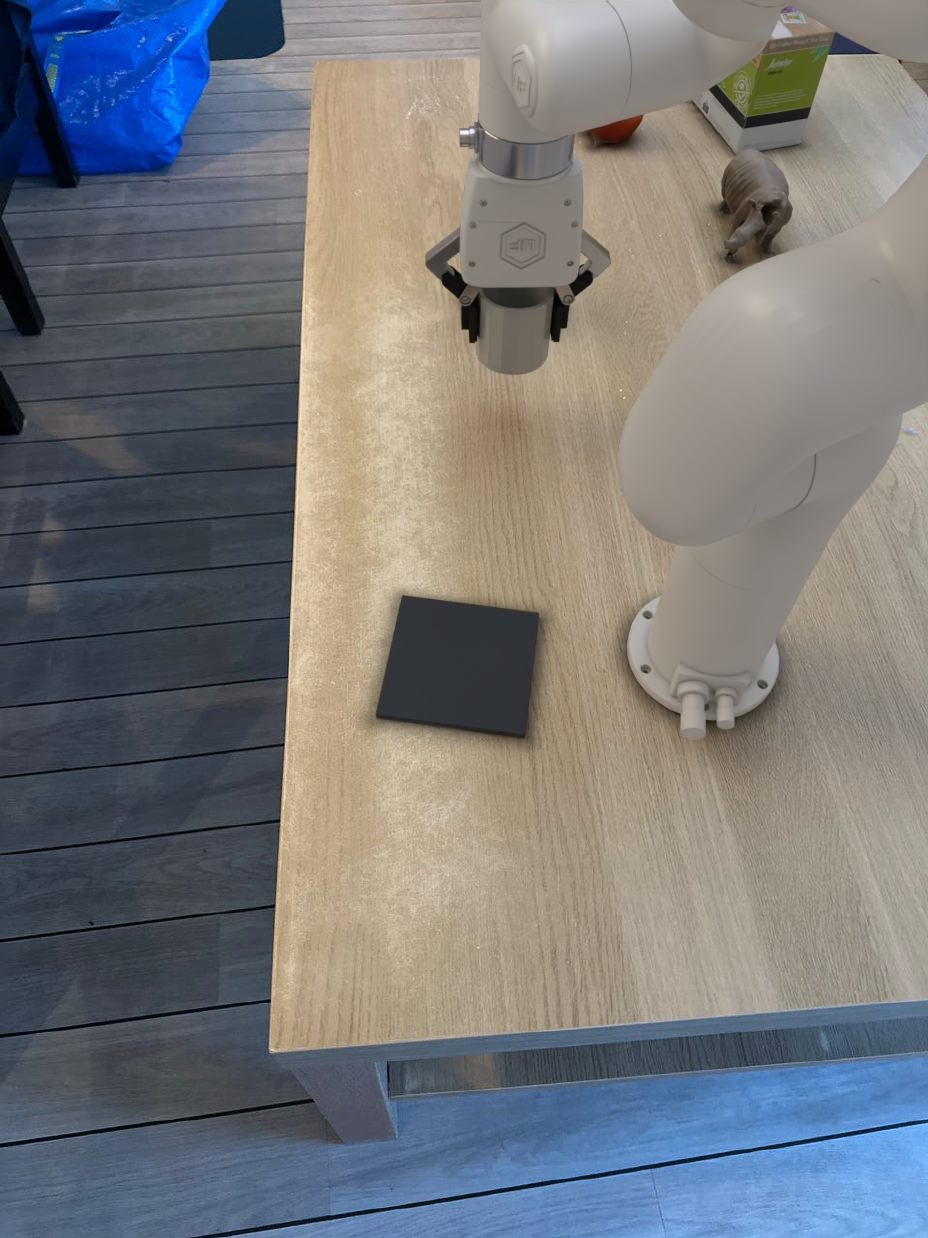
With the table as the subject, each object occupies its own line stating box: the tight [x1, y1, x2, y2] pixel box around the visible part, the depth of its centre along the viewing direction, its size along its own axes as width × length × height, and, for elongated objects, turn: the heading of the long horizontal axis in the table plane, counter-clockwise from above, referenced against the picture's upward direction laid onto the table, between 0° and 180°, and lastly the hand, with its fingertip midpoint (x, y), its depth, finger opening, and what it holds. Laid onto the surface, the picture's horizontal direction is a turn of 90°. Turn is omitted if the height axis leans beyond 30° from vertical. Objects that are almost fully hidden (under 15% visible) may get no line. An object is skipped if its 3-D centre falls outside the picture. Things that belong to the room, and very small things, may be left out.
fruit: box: [583, 114, 645, 149], centre depth 126 cm, size 8×8×8 cm
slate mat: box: [375, 594, 540, 739], centre depth 80 cm, size 12×12×1 cm
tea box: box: [690, 5, 836, 155], centre depth 125 cm, size 15×10×15 cm
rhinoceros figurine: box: [717, 148, 794, 264], centre depth 112 cm, size 8×14×15 cm
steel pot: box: [475, 287, 555, 376], centre depth 88 cm, size 7×7×7 cm
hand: (513, 332), depth 89 cm, fingers closed on steel pot, 7 cm apart
